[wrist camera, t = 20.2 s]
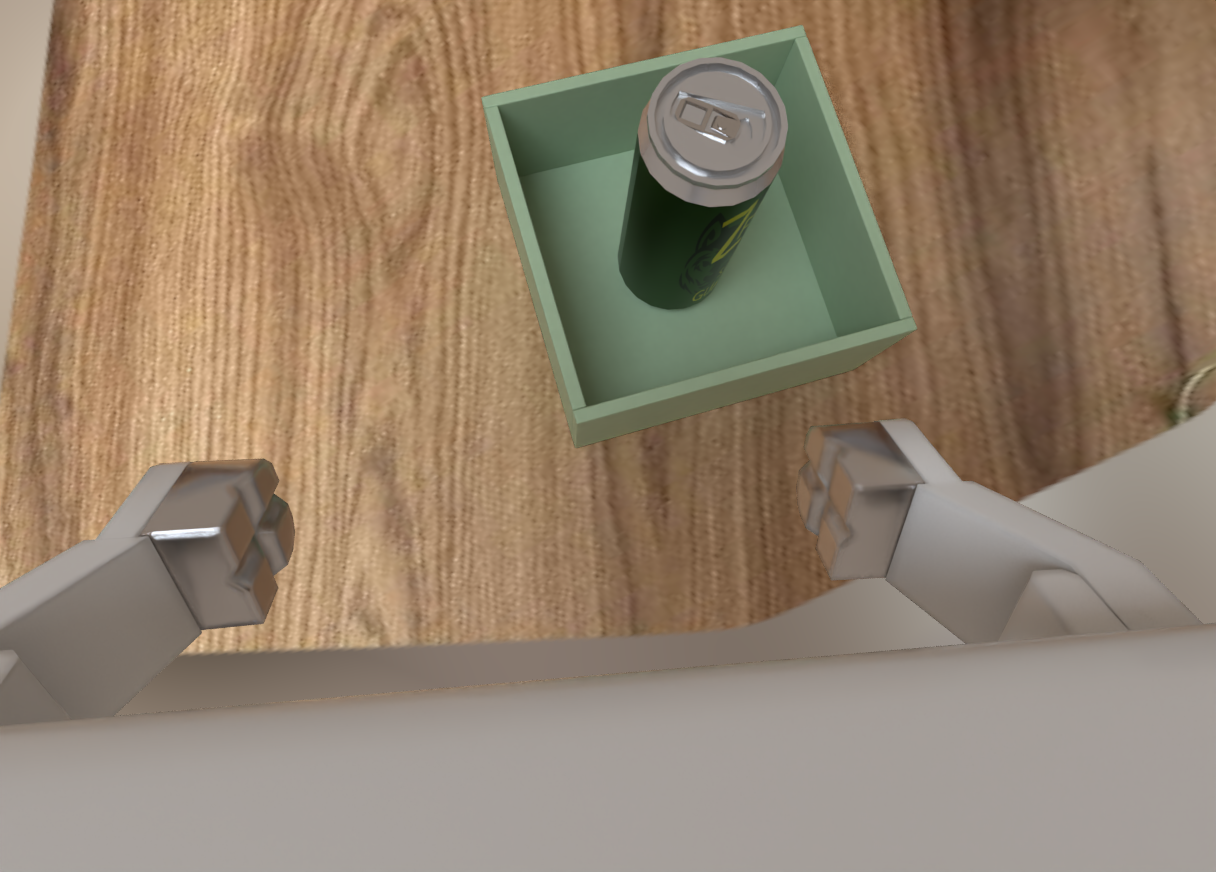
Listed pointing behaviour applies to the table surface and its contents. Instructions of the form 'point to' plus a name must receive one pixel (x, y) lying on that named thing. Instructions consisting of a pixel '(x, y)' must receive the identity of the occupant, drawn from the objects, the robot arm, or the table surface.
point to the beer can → (698, 178)
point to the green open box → (751, 282)
